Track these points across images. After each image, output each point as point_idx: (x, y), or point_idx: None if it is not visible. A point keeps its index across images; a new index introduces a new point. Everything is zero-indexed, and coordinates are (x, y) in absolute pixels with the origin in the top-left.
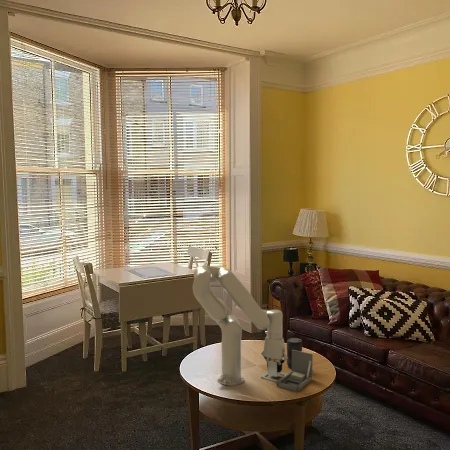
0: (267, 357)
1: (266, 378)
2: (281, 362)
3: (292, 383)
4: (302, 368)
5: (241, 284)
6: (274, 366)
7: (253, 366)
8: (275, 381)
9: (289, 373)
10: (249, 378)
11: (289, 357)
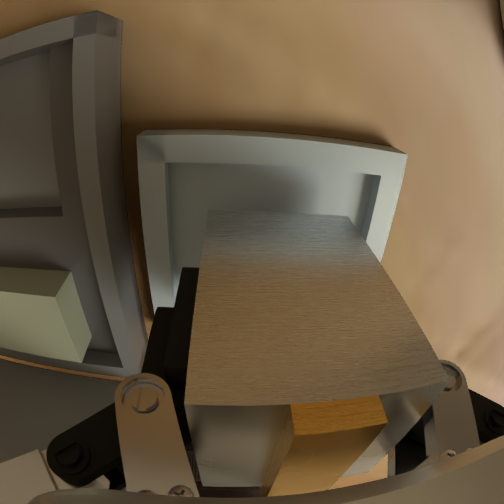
0: (468, 438)
1: (335, 143)
2: (112, 430)
3: (24, 200)
4: (34, 405)
5: None
6: (255, 313)
7: (471, 336)
8: (194, 132)
9: (122, 340)
10: (488, 124)
11: (230, 492)
